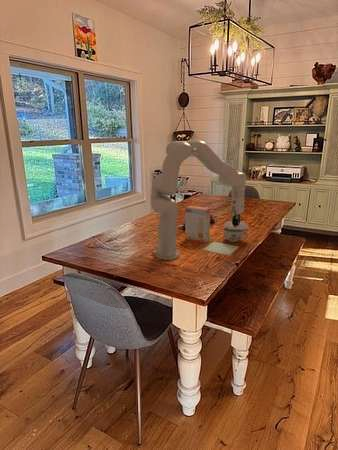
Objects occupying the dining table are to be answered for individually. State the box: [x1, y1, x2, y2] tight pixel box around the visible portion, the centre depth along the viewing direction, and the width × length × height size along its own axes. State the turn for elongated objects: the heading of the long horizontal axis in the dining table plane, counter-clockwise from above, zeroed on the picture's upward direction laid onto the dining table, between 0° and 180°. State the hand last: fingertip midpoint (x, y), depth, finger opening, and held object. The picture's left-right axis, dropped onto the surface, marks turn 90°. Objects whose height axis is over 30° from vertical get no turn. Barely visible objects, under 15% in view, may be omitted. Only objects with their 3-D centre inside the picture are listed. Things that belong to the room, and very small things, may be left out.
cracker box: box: [184, 204, 211, 244], centre depth 190 cm, size 14×6×21 cm, turn 54°
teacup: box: [222, 226, 249, 243], centre depth 190 cm, size 15×12×8 cm
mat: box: [202, 241, 240, 256], centre depth 180 cm, size 16×15×1 cm
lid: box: [223, 216, 249, 231], centre depth 188 cm, size 14×14×6 cm
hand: (235, 223), depth 188 cm, fingers closed on lid, 3 cm apart
